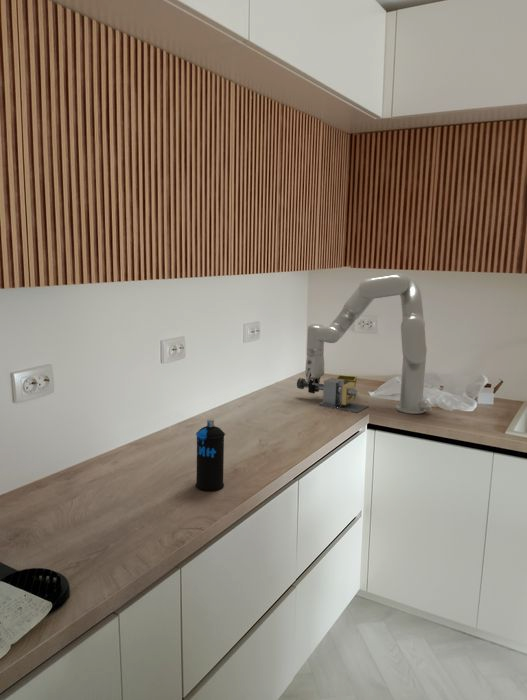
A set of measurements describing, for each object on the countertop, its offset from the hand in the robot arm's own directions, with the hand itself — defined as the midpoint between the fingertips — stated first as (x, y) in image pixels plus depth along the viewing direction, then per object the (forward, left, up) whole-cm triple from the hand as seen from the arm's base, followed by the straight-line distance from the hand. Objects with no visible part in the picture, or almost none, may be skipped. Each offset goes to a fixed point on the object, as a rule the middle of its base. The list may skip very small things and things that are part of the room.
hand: (313, 391), depth 267 cm
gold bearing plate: (-17, 0, -2) cm, 17 cm away
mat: (-19, 0, -4) cm, 20 cm away
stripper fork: (-16, 0, -4) cm, 16 cm away
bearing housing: (-10, 0, -4) cm, 11 cm away
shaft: (-6, 0, 0) cm, 7 cm away
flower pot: (-8, -17, -4) cm, 19 cm away
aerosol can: (-22, +103, -4) cm, 105 cm away
